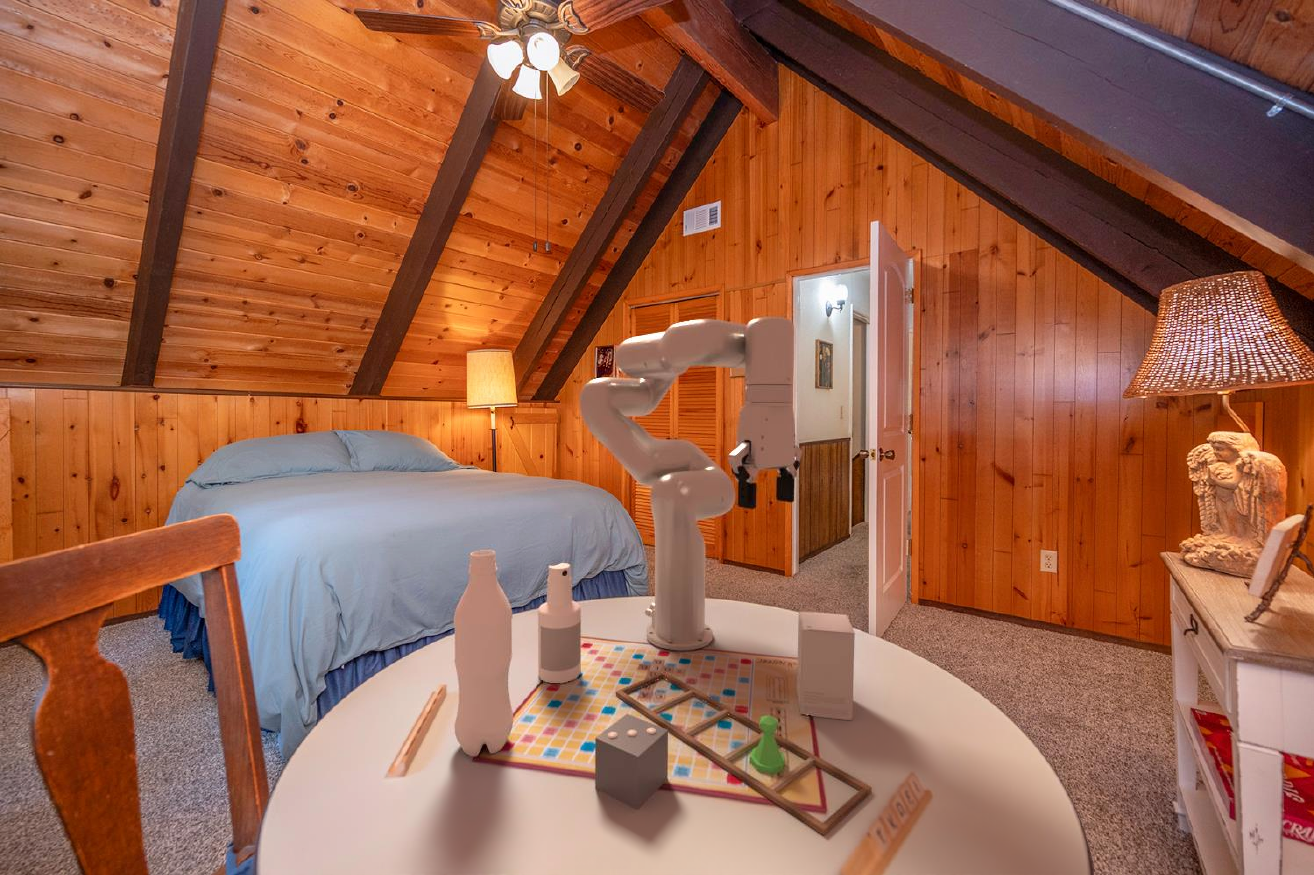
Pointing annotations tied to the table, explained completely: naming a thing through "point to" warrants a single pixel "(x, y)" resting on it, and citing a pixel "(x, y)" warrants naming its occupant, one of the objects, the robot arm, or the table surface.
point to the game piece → (767, 749)
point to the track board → (736, 771)
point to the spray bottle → (559, 629)
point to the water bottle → (483, 659)
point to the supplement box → (825, 665)
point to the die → (631, 760)
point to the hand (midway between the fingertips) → (766, 504)
